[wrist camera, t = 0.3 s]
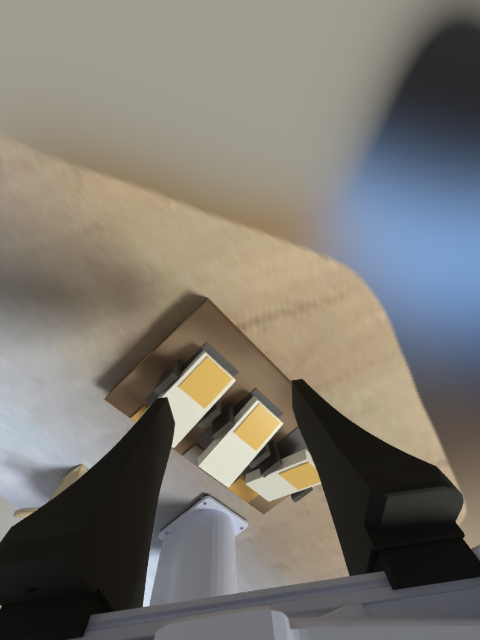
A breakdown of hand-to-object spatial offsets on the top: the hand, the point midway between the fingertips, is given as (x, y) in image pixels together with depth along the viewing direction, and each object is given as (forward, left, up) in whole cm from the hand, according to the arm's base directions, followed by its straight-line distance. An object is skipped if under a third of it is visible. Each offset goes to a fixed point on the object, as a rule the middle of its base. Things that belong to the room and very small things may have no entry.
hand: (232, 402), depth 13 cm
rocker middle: (-6, -8, -7) cm, 12 cm away
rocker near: (-6, -1, -7) cm, 9 cm away
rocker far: (-6, -15, -7) cm, 17 cm away
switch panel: (-6, -8, -11) cm, 14 cm away
